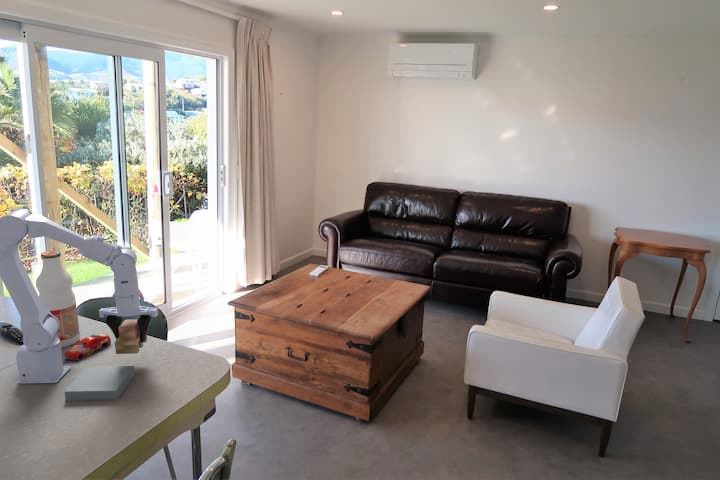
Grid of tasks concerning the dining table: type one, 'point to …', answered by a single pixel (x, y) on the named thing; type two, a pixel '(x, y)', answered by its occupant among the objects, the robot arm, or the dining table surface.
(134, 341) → the tan boxy piece
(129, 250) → the robot arm
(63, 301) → the fruit juice
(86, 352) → the race car
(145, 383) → the dining table surface
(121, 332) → the salmon pink block
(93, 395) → the dock
